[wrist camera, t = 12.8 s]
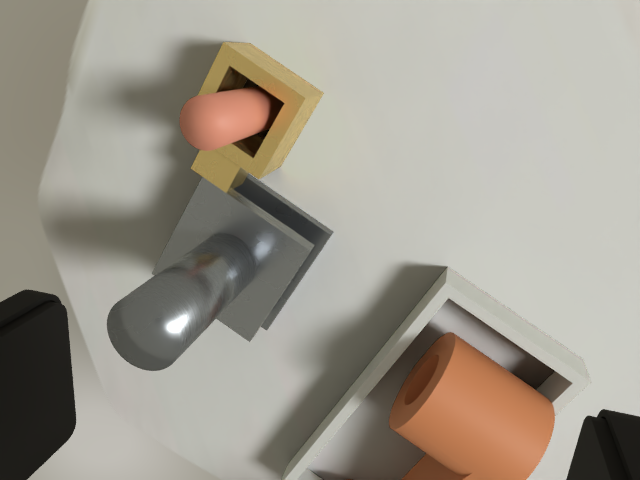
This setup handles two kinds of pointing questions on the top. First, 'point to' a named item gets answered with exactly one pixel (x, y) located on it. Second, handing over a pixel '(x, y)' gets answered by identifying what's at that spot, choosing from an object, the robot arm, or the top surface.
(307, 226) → the yellow and grey fixture
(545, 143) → the top surface
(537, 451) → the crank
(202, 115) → the pin
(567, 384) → the pipe rack
